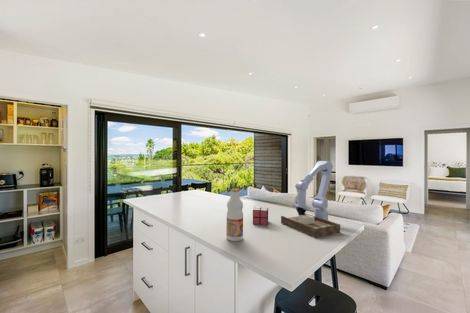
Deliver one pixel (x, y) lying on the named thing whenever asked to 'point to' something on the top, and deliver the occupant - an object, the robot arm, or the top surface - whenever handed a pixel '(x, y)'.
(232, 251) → the top surface
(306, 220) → the cream block
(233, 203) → the fruit juice
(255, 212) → the puzzle cube
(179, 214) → the top surface
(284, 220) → the trap box
